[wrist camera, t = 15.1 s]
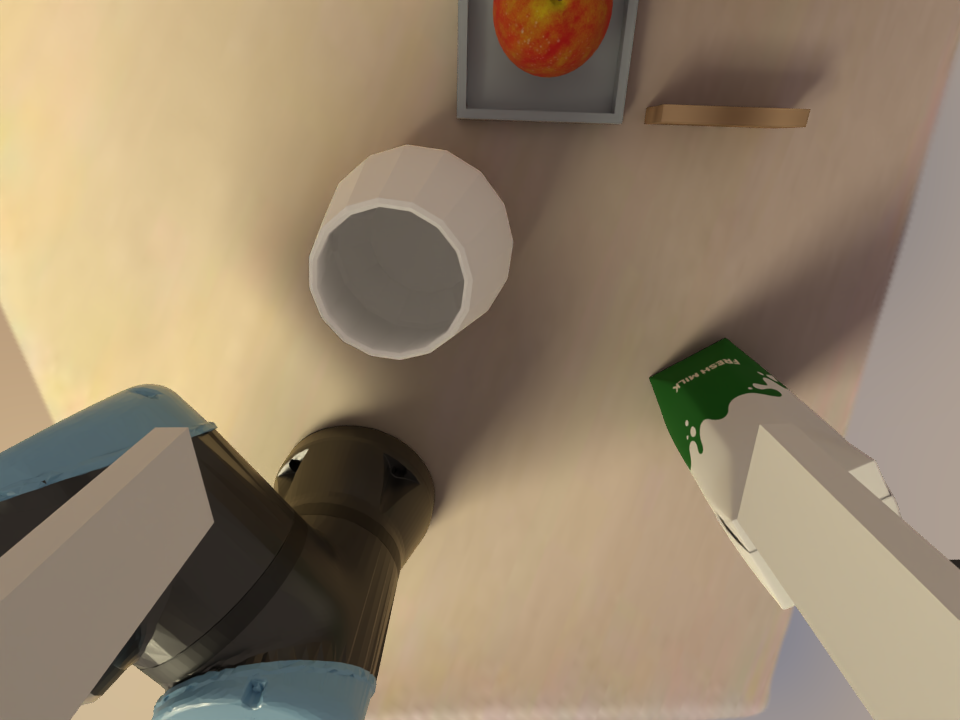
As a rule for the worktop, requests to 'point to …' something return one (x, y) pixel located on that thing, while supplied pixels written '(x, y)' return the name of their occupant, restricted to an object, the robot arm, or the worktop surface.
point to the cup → (409, 252)
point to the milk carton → (743, 436)
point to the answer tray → (524, 97)
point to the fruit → (550, 33)
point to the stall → (726, 116)
